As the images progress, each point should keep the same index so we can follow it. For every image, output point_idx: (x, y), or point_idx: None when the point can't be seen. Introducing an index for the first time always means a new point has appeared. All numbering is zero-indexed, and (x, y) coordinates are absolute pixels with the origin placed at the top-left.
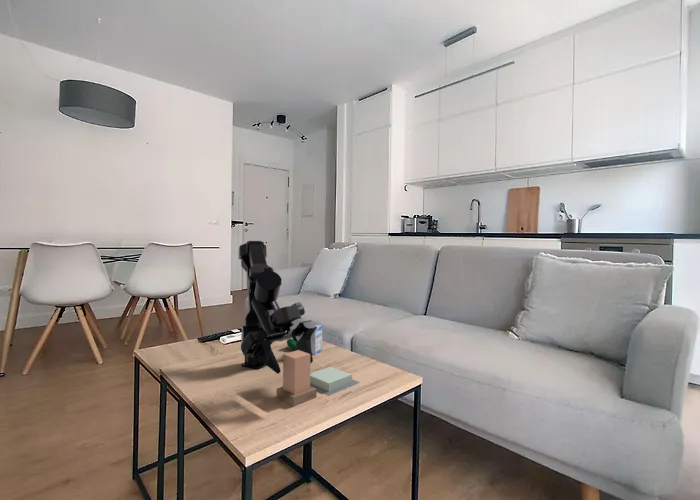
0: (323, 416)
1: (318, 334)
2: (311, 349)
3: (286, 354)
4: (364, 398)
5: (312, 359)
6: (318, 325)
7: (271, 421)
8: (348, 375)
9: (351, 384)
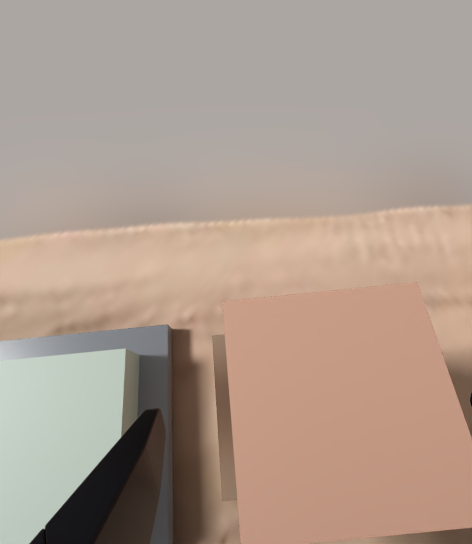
0: (265, 243)
1: None
2: None
3: (461, 475)
4: (72, 257)
5: (142, 415)
6: None
7: (435, 320)
8: None
9: (12, 352)
